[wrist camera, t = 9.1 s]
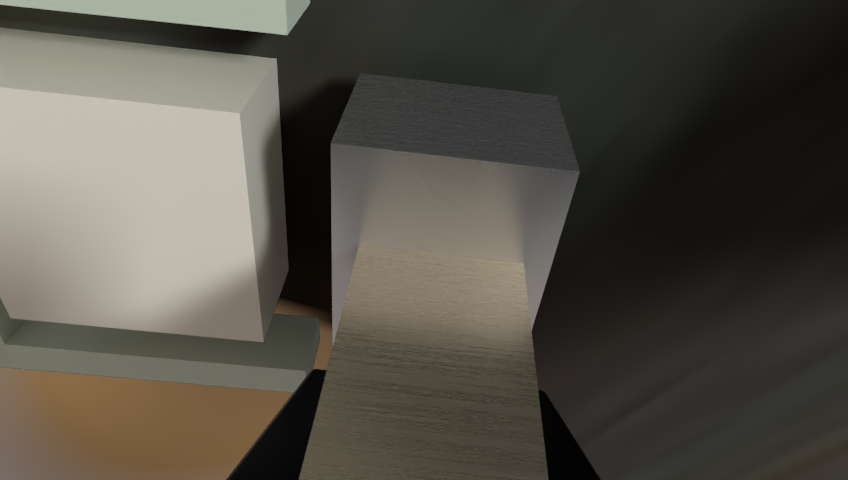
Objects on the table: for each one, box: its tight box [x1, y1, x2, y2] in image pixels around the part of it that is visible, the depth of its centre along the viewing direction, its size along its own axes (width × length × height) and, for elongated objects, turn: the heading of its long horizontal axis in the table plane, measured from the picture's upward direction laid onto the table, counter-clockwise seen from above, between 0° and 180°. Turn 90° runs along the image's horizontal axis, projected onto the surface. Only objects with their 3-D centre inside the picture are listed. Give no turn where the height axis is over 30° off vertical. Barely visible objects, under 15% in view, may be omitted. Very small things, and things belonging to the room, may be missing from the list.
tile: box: [0, 28, 289, 342], centre depth 13 cm, size 6×6×3 cm
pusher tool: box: [299, 73, 580, 480], centre depth 10 cm, size 4×7×10 cm, turn 175°
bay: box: [0, 0, 320, 393], centre depth 13 cm, size 9×11×2 cm
